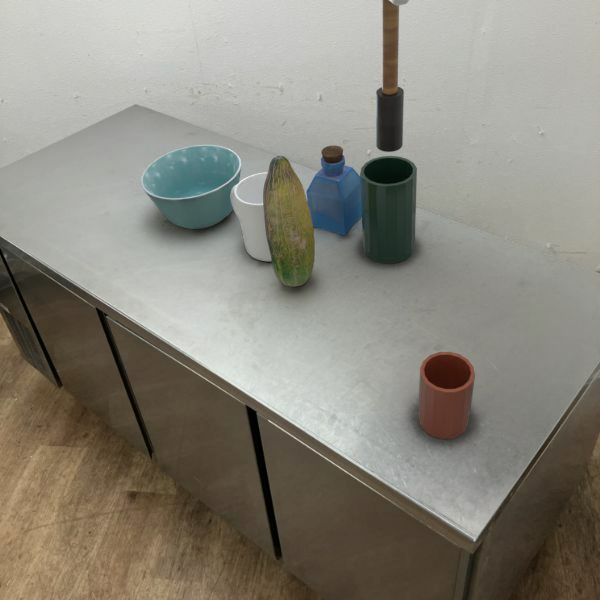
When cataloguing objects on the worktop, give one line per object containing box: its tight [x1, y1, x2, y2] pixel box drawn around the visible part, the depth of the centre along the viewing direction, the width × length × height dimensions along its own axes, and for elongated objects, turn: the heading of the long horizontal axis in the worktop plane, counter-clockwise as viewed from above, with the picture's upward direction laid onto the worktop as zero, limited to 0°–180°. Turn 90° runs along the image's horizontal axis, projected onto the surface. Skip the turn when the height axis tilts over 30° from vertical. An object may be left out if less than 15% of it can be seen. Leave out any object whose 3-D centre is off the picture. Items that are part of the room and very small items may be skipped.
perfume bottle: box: [305, 144, 362, 236], centre depth 97 cm, size 6×6×12 cm
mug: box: [230, 171, 272, 262], centre depth 95 cm, size 12×8×10 cm
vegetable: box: [263, 155, 316, 288], centre depth 83 cm, size 6×6×20 cm
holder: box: [417, 351, 476, 440], centre depth 69 cm, size 5×5×8 cm
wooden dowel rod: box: [375, 0, 405, 153], centre depth 72 cm, size 3×3×22 cm
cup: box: [359, 155, 418, 265], centre depth 90 cm, size 7×8×13 cm
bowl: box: [140, 144, 242, 230], centre depth 103 cm, size 16×16×8 cm
